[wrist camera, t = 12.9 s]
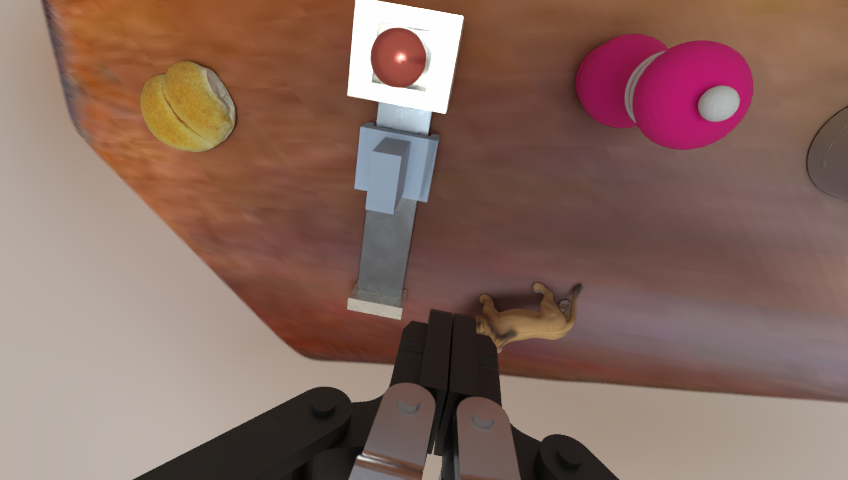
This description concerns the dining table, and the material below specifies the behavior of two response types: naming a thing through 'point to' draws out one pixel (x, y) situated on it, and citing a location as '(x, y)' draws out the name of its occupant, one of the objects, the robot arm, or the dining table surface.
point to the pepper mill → (666, 89)
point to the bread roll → (188, 107)
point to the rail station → (400, 112)
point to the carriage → (394, 166)
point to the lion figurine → (527, 319)
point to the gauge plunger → (398, 57)
